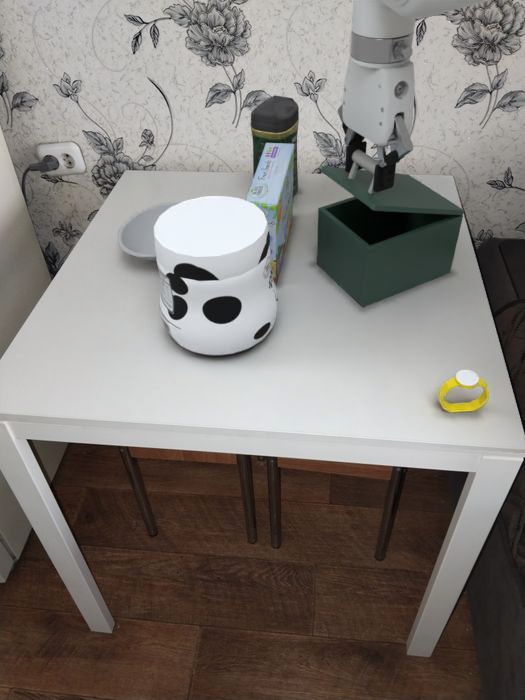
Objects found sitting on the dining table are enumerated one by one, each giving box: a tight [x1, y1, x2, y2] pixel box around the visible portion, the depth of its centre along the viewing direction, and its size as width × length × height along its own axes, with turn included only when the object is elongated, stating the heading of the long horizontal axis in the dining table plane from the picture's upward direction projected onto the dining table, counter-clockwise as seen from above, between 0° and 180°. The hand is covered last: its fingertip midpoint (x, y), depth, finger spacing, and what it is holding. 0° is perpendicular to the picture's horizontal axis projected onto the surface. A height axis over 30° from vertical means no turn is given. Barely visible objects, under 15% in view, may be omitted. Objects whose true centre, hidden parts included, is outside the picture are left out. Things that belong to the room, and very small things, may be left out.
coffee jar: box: [250, 95, 300, 197], centre depth 112 cm, size 10×8×19 cm
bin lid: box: [320, 150, 466, 216], centre depth 88 cm, size 18×14×5 cm
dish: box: [116, 201, 182, 261], centre depth 104 cm, size 18×14×5 cm
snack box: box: [245, 143, 294, 286], centre depth 100 cm, size 21×6×15 cm, turn 171°
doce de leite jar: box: [154, 195, 279, 357], centre depth 84 cm, size 17×17×18 cm
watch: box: [437, 369, 490, 413], centre depth 75 cm, size 6×3×6 cm, turn 89°
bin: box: [316, 196, 464, 308], centre depth 96 cm, size 18×14×11 cm
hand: (368, 178), depth 86 cm, fingers closed on bin lid, 6 cm apart
